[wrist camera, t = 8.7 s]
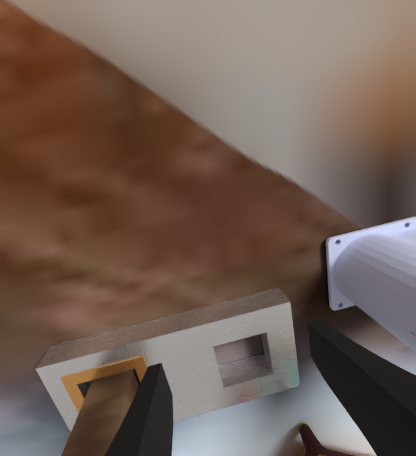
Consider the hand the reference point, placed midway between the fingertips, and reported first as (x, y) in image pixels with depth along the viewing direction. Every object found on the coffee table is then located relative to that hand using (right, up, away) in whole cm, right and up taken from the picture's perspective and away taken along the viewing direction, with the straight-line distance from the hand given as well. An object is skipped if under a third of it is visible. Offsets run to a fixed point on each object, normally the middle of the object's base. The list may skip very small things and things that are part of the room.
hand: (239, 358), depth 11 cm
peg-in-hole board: (-4, -7, +12) cm, 15 cm away
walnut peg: (-10, -8, +12) cm, 18 cm away
